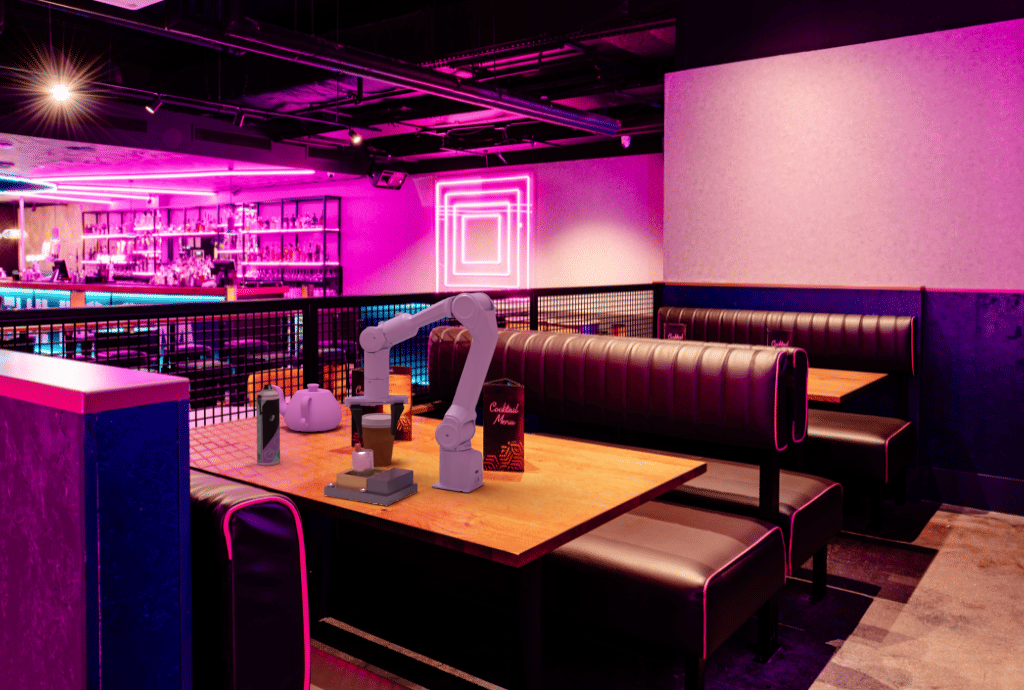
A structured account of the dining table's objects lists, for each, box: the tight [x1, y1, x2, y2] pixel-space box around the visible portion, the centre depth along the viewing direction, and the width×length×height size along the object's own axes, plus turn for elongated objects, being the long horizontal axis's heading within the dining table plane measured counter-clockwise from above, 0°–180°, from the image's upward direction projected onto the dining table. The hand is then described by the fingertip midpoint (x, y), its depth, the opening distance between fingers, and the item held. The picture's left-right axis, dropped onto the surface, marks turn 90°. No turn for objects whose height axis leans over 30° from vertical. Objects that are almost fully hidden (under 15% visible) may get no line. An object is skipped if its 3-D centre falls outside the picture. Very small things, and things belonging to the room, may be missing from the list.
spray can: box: [255, 383, 281, 467], centre depth 189 cm, size 6×6×20 cm
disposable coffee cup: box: [362, 412, 396, 467], centre depth 192 cm, size 10×10×12 cm
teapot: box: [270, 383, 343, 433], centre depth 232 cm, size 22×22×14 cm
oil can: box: [351, 442, 375, 478], centre depth 166 cm, size 4×4×9 cm
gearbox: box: [323, 467, 419, 506], centre depth 165 cm, size 16×12×5 cm
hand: (376, 435), depth 178 cm, fingers open, 7 cm apart
